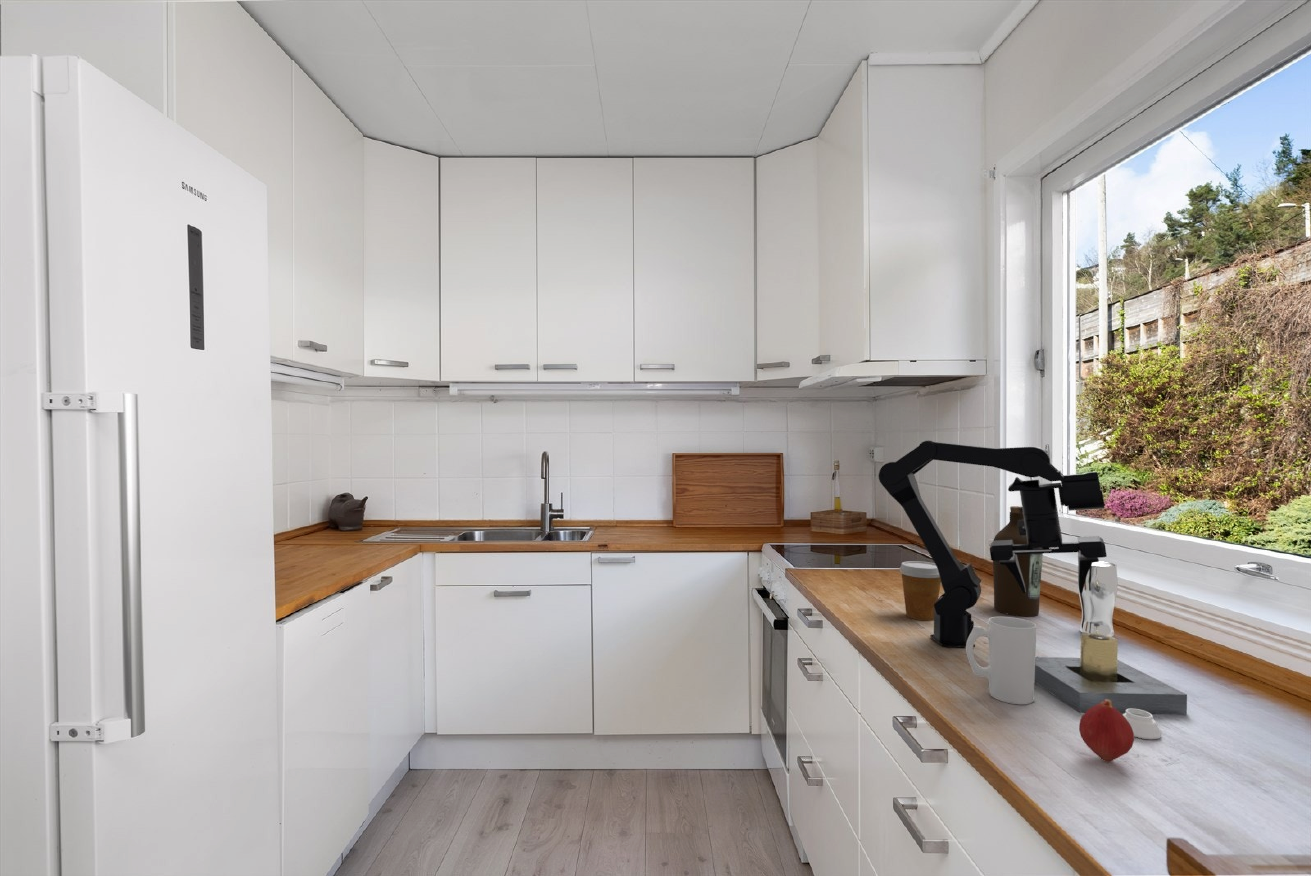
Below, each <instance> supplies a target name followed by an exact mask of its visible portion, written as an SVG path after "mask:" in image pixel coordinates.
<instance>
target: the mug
mask: <svg viewBox="0 0 1311 876" xmlns="http://www.w3.org/2000/svg"><path fill="white" fill-rule="evenodd" d="M1037 625H1038V624H1036V623H1035V622H1033V621H1031V620H1028V619H1023V618H1018V617H1013V616H993V617H989V618H988V628H983V627H982V626H979V625H975V624H974V626H973V630H972V632H971V633H970V635H969V637H968V640H967V643H966V647H965V652H966V656H967V661H968V662H969V664H970V665H969V666H970V667H971V670H972V672H973V674H974V676H976V677H983V678H986V679H988V692H989V695H990V696H991V697H992V698H994V699H996V700H998V701H1000V702H1004V703H1007V704H1012V705H1020V706H1021V705H1030V704H1032V703H1033V702H1034V697H1035V695H1034V694H1035V693H1034V691H1035V682H1034V680H1035V657H1036V652H1037V651H1036V650H1037V649H1036V648H1037ZM980 637H985V638H987V639H988V666H980V665H979V663H978V662H977V660H976V659H975V654H974V647H973V645H974V644H975V642H976V641H977V640H978V639H979V638H980Z"/></svg>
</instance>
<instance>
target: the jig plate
mask: <svg viewBox="0 0 1311 876" xmlns="http://www.w3.org/2000/svg"><path fill="white" fill-rule="evenodd" d="M1080 658H1081V657H1055V656H1051V657H1050V656H1049V657H1048V656H1047V657H1046V656H1035V680H1034V684H1037V685H1038V686H1040V687H1041V688H1043V689H1044V690H1046V691H1047V692H1049V693H1051V694H1052V695H1053V696H1054V697H1057V699H1059V700H1061V701H1063V702H1064V703H1065V704H1067V705H1068V706H1070V707H1071V708H1072V709H1074V710H1076V712H1078V713H1086V711H1087V710H1089V709H1090V708H1091V707H1093V706H1095V705H1098V704H1100V703H1102V702H1103V701H1104V700H1105V699H1106V700H1110V701H1111V704H1112V706H1113V707H1114V708H1115V709H1116V710H1118V711H1119V712H1120V713H1121V714H1124V713H1125V712H1126V711H1125V710H1126V709H1130V708H1132V709H1140V710H1143V711H1146V712H1149V713H1150V714H1152V715H1153V714H1154V715H1156V714H1157V715H1188V714H1187V713H1188V694H1187V693H1184V692H1183V691H1181V690H1179V689H1177V688H1175V687H1174V686H1173V687H1172V686H1171V685H1169V684H1166V683H1165V682H1162V681H1161V680H1159V679H1157V678H1154V677H1153V676H1150V674H1147V673H1145V672H1143V671H1141V670H1139V669H1138V668H1135V667H1133V666H1131V665H1129V664H1127V663H1125V662H1124V661H1121V660H1120V659H1117V682H1090V681H1088V680H1087V679H1085V678H1083V677H1082V676H1080Z"/></svg>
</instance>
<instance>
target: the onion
mask: <svg viewBox="0 0 1311 876" xmlns="http://www.w3.org/2000/svg"><path fill="white" fill-rule="evenodd" d="M1078 725H1079V728H1078V730H1079V734H1080V737H1081V739H1082V741H1083V743H1084V744H1085V745H1086V746H1087V747H1088V748H1089V749H1090V750H1091V751H1092V752H1093V753H1094V754H1095V755H1096V756H1097V757H1098V758H1099V759H1100V760H1102V761H1104V762H1107V763H1110V762H1113V761H1115V760H1116V759H1119V758H1120V757H1122V756H1124V755H1126V754H1128V753H1129V752H1130V751H1131V749H1132V748H1133V744H1134V742H1135V737H1134V733H1133V730H1132V727H1131V725H1130V724H1129V722H1128V721H1127V719H1126V718H1125V717H1124V716H1123V713H1120V712H1119V711H1118V710H1116V709H1115V708H1114V707H1113V706H1112V704H1111V701H1110V700H1106V699H1105V700H1104V701H1103V702H1102V703H1100V704H1098V705H1095V706H1093V707H1091V708H1090V709H1089V710H1087V711H1086V712H1084V713H1083V715H1081V718H1080V721H1079V724H1078Z"/></svg>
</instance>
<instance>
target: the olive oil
mask: <svg viewBox="0 0 1311 876" xmlns="http://www.w3.org/2000/svg"><path fill="white" fill-rule="evenodd" d="M1009 509H1010V511H1009V522H1008V523H1007V524H1006V525H1005V526H1004V527H1002V529H1000V530H999V531H998V532H997V533H996V535H994V538H993V540H992V542H993V541H996V540H1013V545H1016V544H1028V543H1027V537H1020V535H1019V530H1018V520H1024V516H1023V509H1022V506H1020V505H1019V506H1010V507H1009ZM1033 549H1042V548H1033ZM1043 555H1044V553H1041V554H1017V558H1018V563H1019V566H1020V570H1021V573H1022V577H1023V580H1024V584H1025V589H1026V594H1023V592H1022V590H1021V588H1020V587H1019V585H1018V583H1017V581H1016V579H1015V578H1014V576H1013V575H1012V573H1011V572H1010V571H1009V569H1008V568H1007V567H1006V565H1000V564H999V561H993V560H992V568H993V569H992V571H993V575H992V576H993V606H994V607H993V608H995V609H996V610H995V609H994V610H995V611H997V612H999V613H1002V614H1005V613H1008V614H1007V615H1010V614H1011V615H1010V616H1016V615H1018V616H1017V617H1035V616H1034V615H1036V616H1038V615H1039V613H1040V600H1041V599H1040V598H1041V582H1042V568H1043V557H1044V556H1043Z"/></svg>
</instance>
